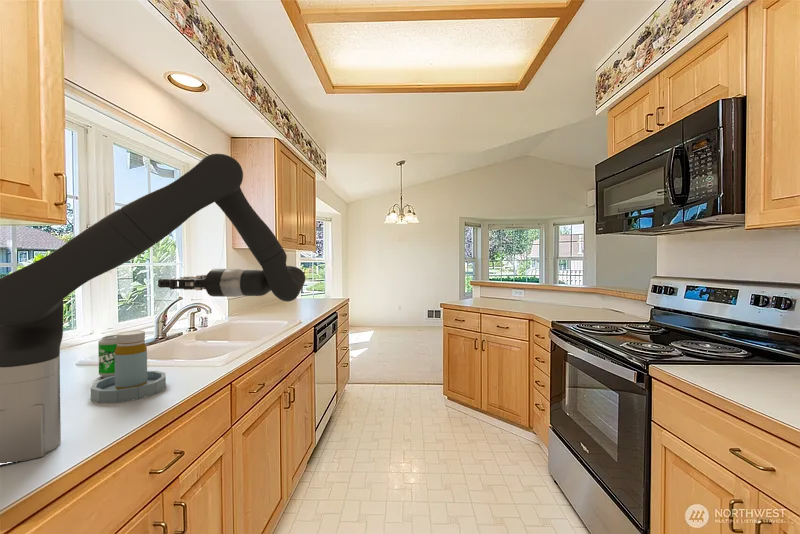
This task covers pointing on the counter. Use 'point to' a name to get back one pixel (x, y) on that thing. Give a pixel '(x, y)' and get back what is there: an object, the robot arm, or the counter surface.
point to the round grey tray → (127, 389)
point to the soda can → (107, 355)
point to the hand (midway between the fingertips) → (169, 282)
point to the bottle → (130, 359)
